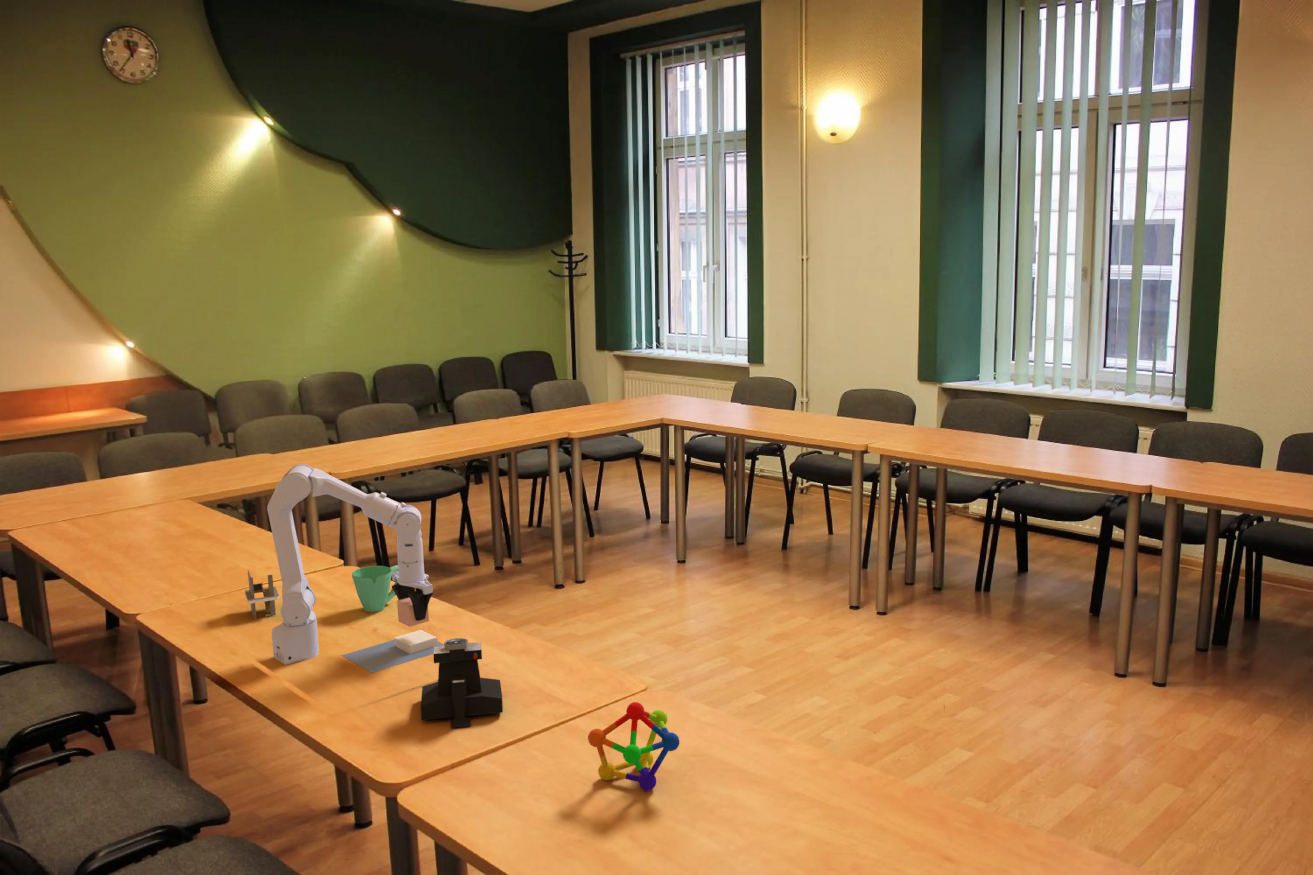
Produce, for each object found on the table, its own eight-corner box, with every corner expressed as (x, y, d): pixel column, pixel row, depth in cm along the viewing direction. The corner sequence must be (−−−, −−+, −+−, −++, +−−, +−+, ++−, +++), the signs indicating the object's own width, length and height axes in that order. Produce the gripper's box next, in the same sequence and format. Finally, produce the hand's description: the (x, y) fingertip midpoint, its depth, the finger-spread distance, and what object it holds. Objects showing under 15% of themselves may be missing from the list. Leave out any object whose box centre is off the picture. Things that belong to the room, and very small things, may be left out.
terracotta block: (409, 626, 247) (408, 605, 246) (398, 621, 250) (396, 600, 249) (428, 621, 250) (427, 600, 249) (417, 615, 254) (416, 595, 253)
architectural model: (225, 608, 282) (221, 567, 280) (292, 598, 289) (289, 557, 287) (231, 631, 266) (227, 588, 264) (303, 620, 273) (299, 577, 271)
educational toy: (638, 815, 181) (630, 734, 177) (588, 788, 190) (578, 711, 186) (702, 774, 191) (695, 696, 187) (651, 750, 200) (643, 676, 196)
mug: (371, 618, 272) (369, 580, 270) (346, 610, 278) (343, 573, 276) (416, 601, 284) (414, 565, 282) (391, 594, 289) (389, 558, 287)
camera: (497, 630, 226) (500, 650, 211) (500, 697, 227) (504, 722, 213) (419, 636, 223) (417, 657, 208) (423, 704, 225) (421, 730, 210)
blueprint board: (372, 676, 237) (371, 664, 236) (341, 658, 247) (340, 646, 246) (451, 651, 250) (450, 639, 249) (419, 635, 260) (418, 624, 259)
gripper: (443, 562, 245) (446, 619, 248) (409, 549, 255) (413, 604, 258) (415, 569, 240) (419, 627, 243) (382, 556, 251) (386, 612, 253)
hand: (414, 616), depth 250 cm, fingers closed on terracotta block, 5 cm apart
